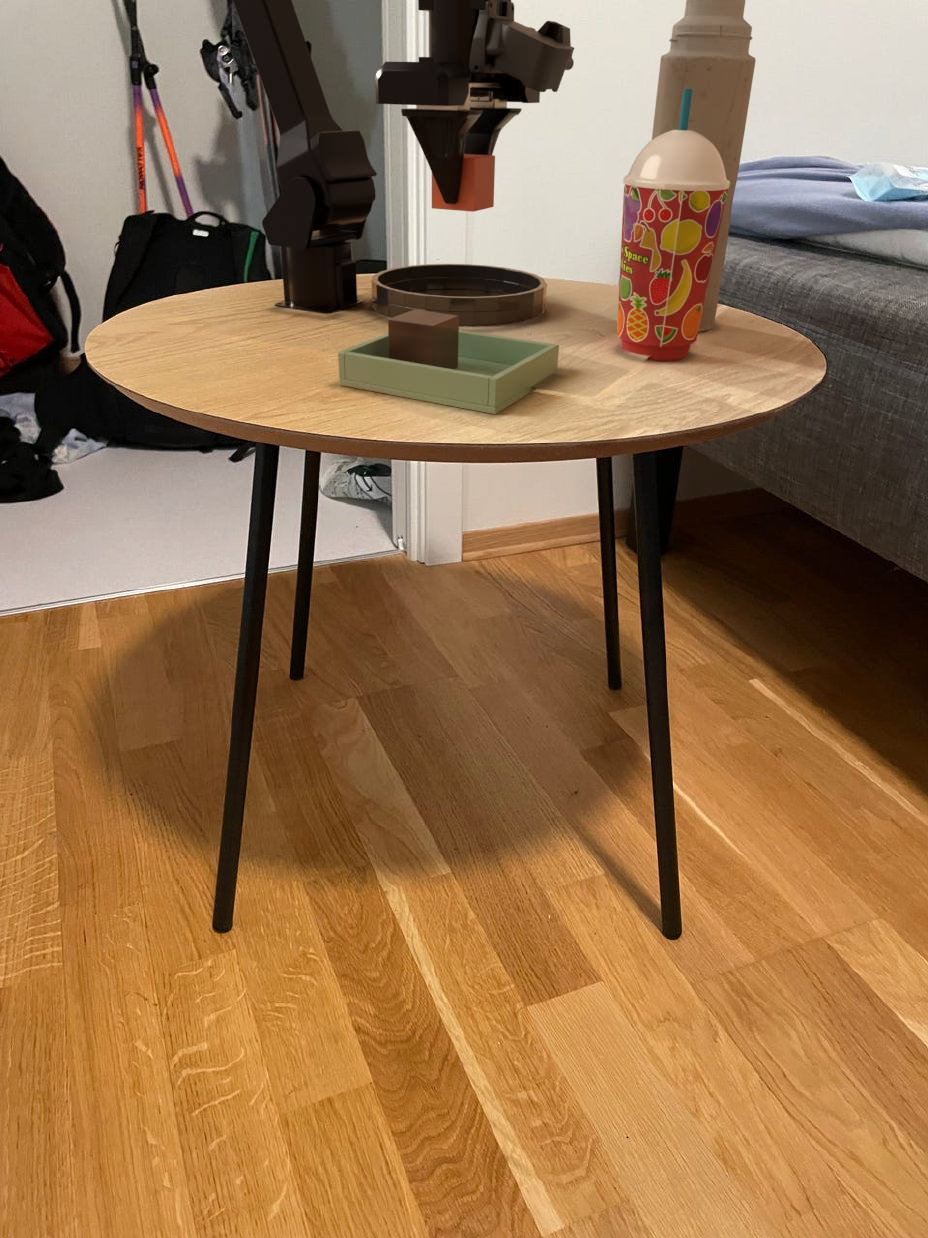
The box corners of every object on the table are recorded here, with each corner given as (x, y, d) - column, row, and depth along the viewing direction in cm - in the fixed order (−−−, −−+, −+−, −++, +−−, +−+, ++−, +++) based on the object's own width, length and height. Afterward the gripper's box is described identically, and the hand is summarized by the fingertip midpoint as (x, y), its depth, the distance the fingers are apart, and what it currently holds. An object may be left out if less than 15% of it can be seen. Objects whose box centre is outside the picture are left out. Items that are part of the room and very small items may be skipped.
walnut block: (388, 371, 72) (387, 318, 70) (414, 359, 75) (414, 308, 73) (433, 379, 71) (433, 325, 69) (458, 367, 74) (459, 315, 72)
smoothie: (597, 340, 84) (622, 86, 74) (687, 340, 85) (723, 89, 75) (618, 365, 77) (648, 88, 67) (716, 365, 78) (760, 91, 68)
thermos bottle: (704, 314, 95) (754, -19, 80) (722, 333, 88) (780, -27, 74) (626, 312, 95) (662, -21, 80) (637, 331, 88) (679, -30, 74)
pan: (338, 315, 90) (337, 283, 89) (426, 286, 104) (426, 258, 102) (498, 340, 84) (499, 305, 82) (570, 305, 97) (572, 275, 95)
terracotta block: (431, 208, 79) (431, 155, 77) (452, 203, 82) (453, 153, 80) (473, 211, 78) (474, 158, 76) (493, 206, 81) (495, 155, 79)
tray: (339, 385, 71) (337, 351, 69) (413, 352, 79) (413, 322, 78) (495, 414, 66) (496, 379, 64) (557, 376, 74) (559, 344, 73)
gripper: (512, -35, 62) (503, 220, 69) (604, -12, 76) (588, 197, 84) (368, -31, 66) (375, 209, 74) (481, -10, 80) (476, 189, 88)
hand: (462, 201), depth 80 cm, fingers closed on terracotta block, 4 cm apart
